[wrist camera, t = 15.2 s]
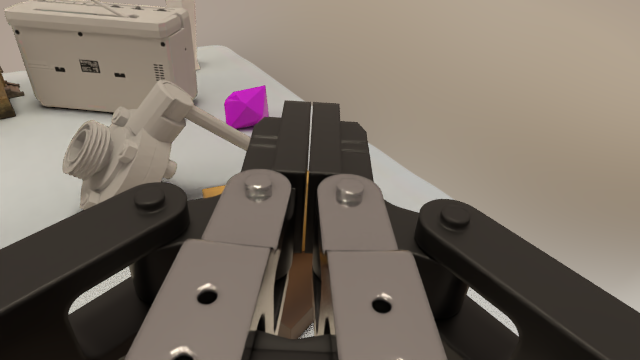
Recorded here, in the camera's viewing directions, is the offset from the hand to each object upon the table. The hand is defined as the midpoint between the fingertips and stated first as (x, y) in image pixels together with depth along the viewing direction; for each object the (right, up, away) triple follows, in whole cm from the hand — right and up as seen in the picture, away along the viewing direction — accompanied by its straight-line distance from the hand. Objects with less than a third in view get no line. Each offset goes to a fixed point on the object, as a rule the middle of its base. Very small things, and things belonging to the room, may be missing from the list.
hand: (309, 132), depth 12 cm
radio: (-28, +9, +50) cm, 58 cm away
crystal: (-10, +6, +48) cm, 49 cm away
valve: (-13, -3, +34) cm, 37 cm away
